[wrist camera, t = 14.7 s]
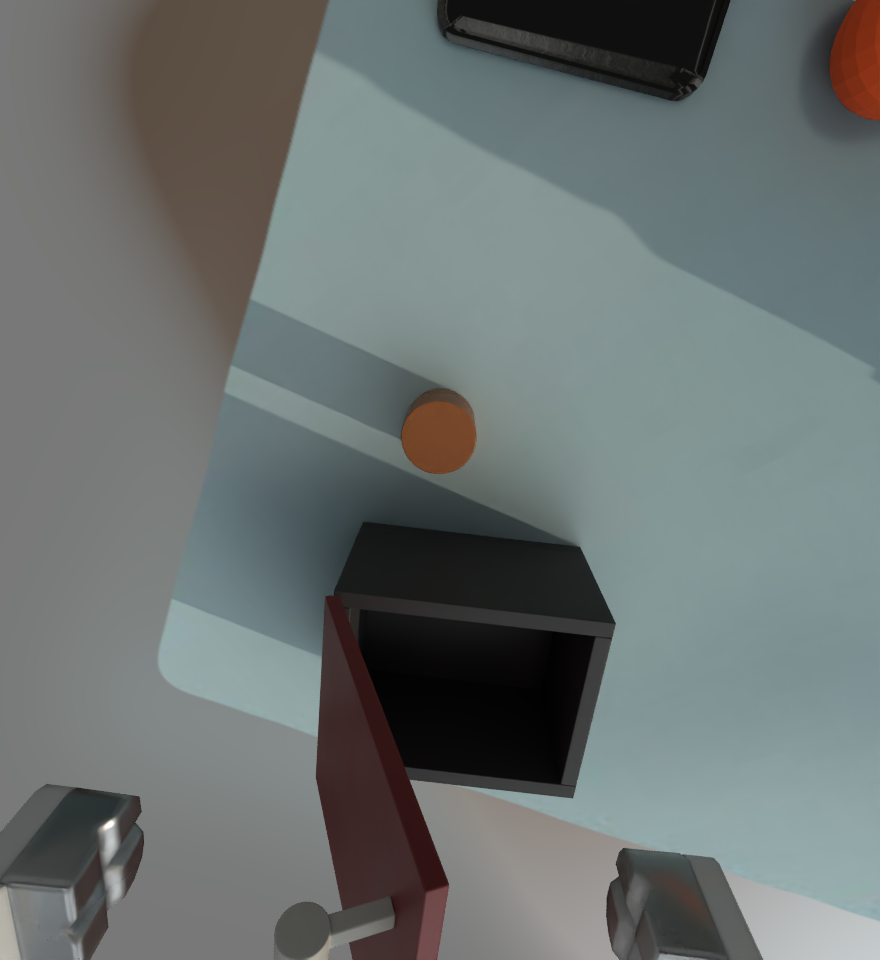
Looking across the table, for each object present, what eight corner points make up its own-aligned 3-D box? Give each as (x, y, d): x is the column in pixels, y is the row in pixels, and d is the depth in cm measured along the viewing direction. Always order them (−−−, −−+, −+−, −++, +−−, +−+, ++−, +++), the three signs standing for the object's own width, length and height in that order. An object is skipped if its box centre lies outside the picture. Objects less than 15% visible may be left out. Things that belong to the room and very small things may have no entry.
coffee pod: (488, 415, 38) (491, 431, 34) (447, 467, 40) (446, 488, 36) (433, 374, 38) (430, 385, 34) (394, 428, 39) (386, 445, 35)
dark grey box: (580, 546, 41) (616, 623, 32) (549, 692, 46) (573, 798, 36) (363, 521, 41) (334, 590, 32) (352, 670, 45) (323, 770, 36)
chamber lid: (450, 884, 17) (284, 935, 15) (409, 1132, 21) (276, 1194, 19) (339, 594, 32) (248, 602, 30) (328, 774, 36) (248, 791, 34)
